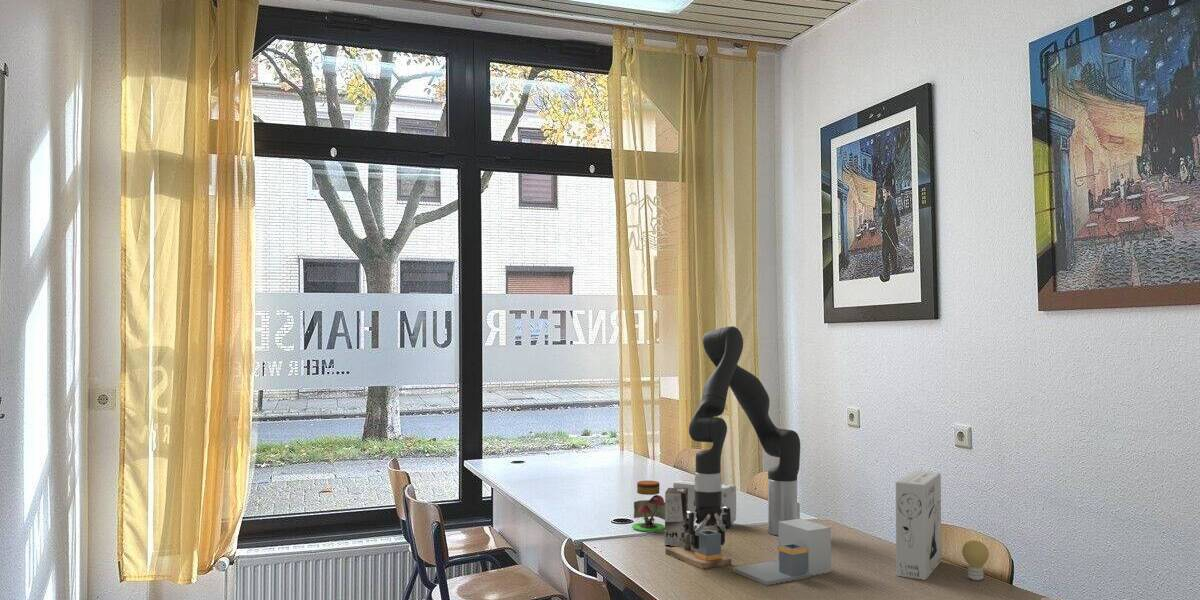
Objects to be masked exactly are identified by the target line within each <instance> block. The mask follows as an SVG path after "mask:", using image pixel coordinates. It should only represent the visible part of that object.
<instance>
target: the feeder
mask: <svg viewBox="0 0 1200 600" xmlns="http://www.w3.org/2000/svg"><path fill="white" fill-rule="evenodd" d="M831 529H832V527H830V526H828V525H823V524H820V523H816V522H814V521H809V520H806V519H802V518H800V519H794V520H787V521H780V522H778V535H777V536H778V538H777V540H778V542H777V543H778V544H777V547H778V546H779V545H784V544H791V543H795V544H798V545H801V546H804V547H807V552H806V574H804V575H798V576H793V577H792V576H789V575H786V574H784V573H781V572H779V550H778V549H777V551H778V560H774V561H773V560H772V561H766V562H761V563H760V562H759V563H754V564H749V565H742V566H741V565H740V566H738V567H737V566H736V567H733V568H732V572H733V573H736V574H737V575H741V576H743V577H744V578H745V577H746V578H748V579H750V580H753V581H755V582H758V583H761V584H763V585H765V586H771V584H772V585H776V583H777V584H781V583H780V582H783V583H787V582H786V581H788V582H793V581H792V580H794V581H798V580H797V579H799V580H803V579H802V578H804V579H810V578H812V576H811V575H813V576H818V575H823V574H822V573H824V574H829V573H832V532H831V531H832V530H831ZM828 572H829V573H828ZM817 574H818V575H817ZM809 577H810V578H809Z"/></svg>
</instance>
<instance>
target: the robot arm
mask: <svg viewBox="0 0 1200 600" xmlns="http://www.w3.org/2000/svg"><path fill="white" fill-rule="evenodd" d="M702 345H703V349H704V352H705V353H706V355H707V357H708V358H709V359H710V361H711V362H712V364H713V366H714V367H715V369H714V370H713V371H712V373H711V374H710V376H709V377H708V379H706V382H705V383H704V386H703V391H702V396H701V400H700V403H699V406H698V408H697V410H696V411H695V413H694V415H693V416H692V418H691V420H690V422H689V425H688V434H689V437H690V438H691V440H693V441H695V442H699V443H712V446H711V448H710V449H703V450H699V451H697V452H696V454H695V475H694V481H695V506H696V509H695V511H692V512H691V511H686V514H685V532H686V533H689V534H691V545H692V547H693V548H694V549H699V536H698V534H699V532H700V531H702V530H703V529H704V527H706V526H707V527H708V526H711V525H712V526H715V527H716V529H717V531H716V532H718V533H721V546H724V544H725V542H726V531H727V530H729V529H730V530H731V528H732V524H731V515H730V508H728V507H725V506H723V507H722V508H721V507H720V506H721V504H722V484H723V483H722V482H723V481H722V480H723V479H722V474H721V473H722V471H721V470H722V469H721V468H722V467H721V461H722V460H721V459H722V452H723V448H724V443H725V440H726V436H727V434H728V426H727V423H726V421H725V420H724V419H723V418H722V417H719V416H721V415H723V413H724V412H725V408H726V403H727V398H728V393H729V392H728V391H729V388H730V390H731V391H732V392H733V395H734V397H735V398H736V400H737V402H738V403H739V405H740V407H741V409H742V410H743V412H744V413H745V416H747V419H748V420H749V422H750V424H751V425H752V427H753V429H754V431H755V433H756V436H757V438H758V440H759V442H760V444H761V447H762V449H763V450H764V452H765V453H766V454H767V455H768V456H770V457H773V458H779V463H778V465H777V466H775V467H772V468H770V469H769V470H768V471H767V527H768V528H767V532H768V534H770V535H773V536H778V522H780V521H787V520H794V519H801V510H800V509H801V508H800V507H801V504H800V503H799V502H798V474H799V472H800V465H801V463H800V461H801V459H800V458H801V439H800V436H799V434H798V433H797V431H795V430H792V429H786V428H778V427H777V426H776V425H775V424H774V423H773V421H772V419H771V417H770V415H769V412H770V411H769V410H770V397H769V394H768V392H767V390H766V389H765V387H764V385H763V383H762V382H761V381H760V379H759V378H758V377H757V376H756V375H754V374H753V373H751V372H750V371H748V370H746V369H745V368H743V367H741V366H740V365H738V363H739V361H740V358H741V355H742V352H743V350H744V349H743V348H744V338H743V335H742V332H741V331H740V330H739V328H738V327H736V326H734V325H733V326H726V327H721V328H717V329H712V330H709V331H707V332H706V333H704V335H703V337H702ZM721 514H722V521H721V519H720V518H719V517H720V515H721ZM695 516H696V519H695ZM694 519H695V521H694Z"/></svg>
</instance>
